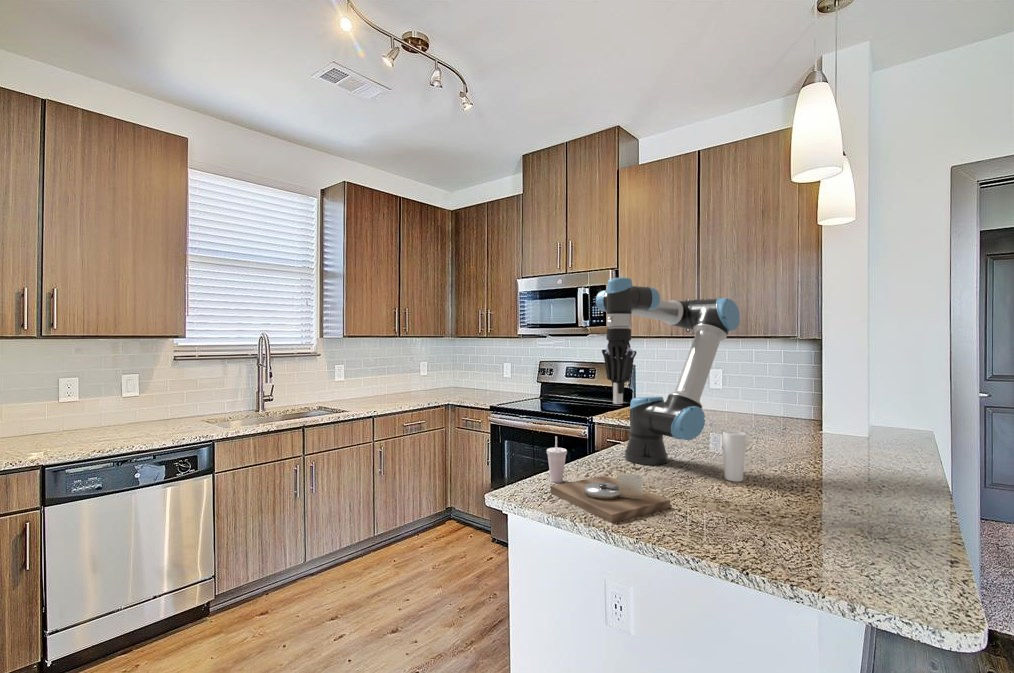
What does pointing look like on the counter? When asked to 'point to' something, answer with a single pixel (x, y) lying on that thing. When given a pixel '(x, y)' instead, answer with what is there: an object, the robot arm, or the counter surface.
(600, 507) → the panel
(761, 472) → the counter surface
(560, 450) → the smoothie
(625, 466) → the counter surface
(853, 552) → the counter surface
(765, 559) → the counter surface
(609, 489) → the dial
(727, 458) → the drinking glass
